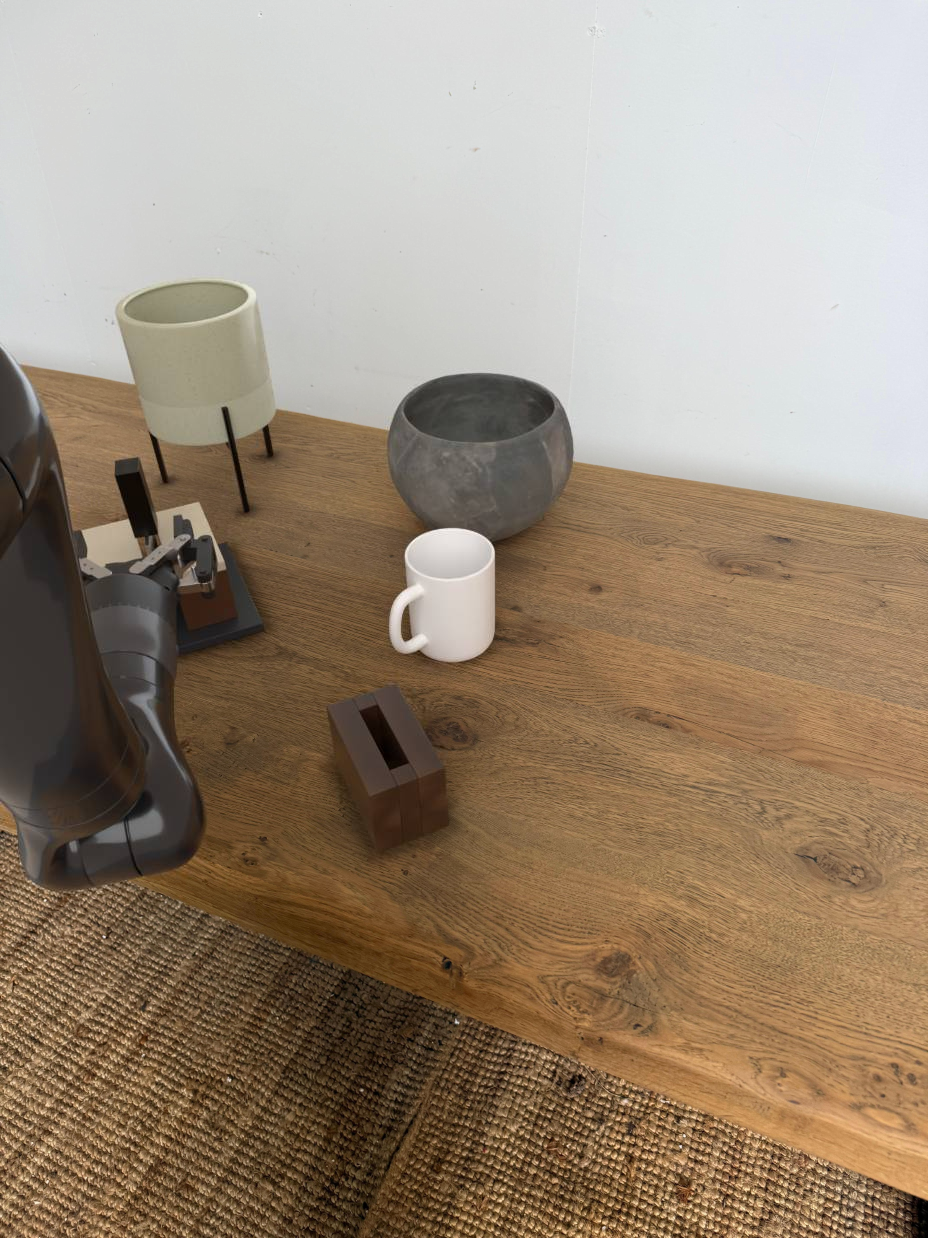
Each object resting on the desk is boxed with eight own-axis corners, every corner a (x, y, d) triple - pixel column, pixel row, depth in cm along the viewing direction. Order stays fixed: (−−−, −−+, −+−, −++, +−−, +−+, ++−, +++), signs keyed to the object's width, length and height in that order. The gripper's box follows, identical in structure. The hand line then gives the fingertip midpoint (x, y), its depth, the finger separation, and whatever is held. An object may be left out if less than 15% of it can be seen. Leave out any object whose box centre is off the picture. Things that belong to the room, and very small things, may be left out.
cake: (100, 679, 82) (73, 614, 77) (82, 587, 93) (57, 525, 88) (264, 630, 87) (250, 566, 82) (228, 548, 98) (213, 488, 93)
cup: (512, 634, 86) (513, 550, 79) (425, 697, 79) (419, 612, 73) (452, 599, 90) (449, 517, 84) (366, 657, 84) (355, 573, 77)
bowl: (358, 520, 102) (344, 402, 93) (485, 460, 112) (484, 349, 103) (473, 598, 90) (470, 472, 81) (603, 523, 101) (615, 403, 91)
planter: (181, 452, 116) (135, 277, 101) (297, 452, 115) (269, 276, 101) (144, 514, 104) (86, 326, 90) (274, 514, 104) (237, 325, 89)
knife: (158, 621, 87) (113, 483, 77) (157, 586, 92) (114, 452, 81) (181, 616, 88) (139, 479, 77) (178, 582, 92) (138, 448, 82)
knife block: (377, 854, 66) (368, 796, 62) (336, 764, 73) (325, 706, 69) (448, 826, 68) (445, 767, 64) (401, 741, 75) (396, 683, 71)
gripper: (211, 591, 63) (203, 481, 75) (4, 627, 61) (30, 507, 73) (230, 666, 68) (220, 552, 80) (39, 702, 65) (59, 578, 77)
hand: (130, 531), depth 76 cm, fingers open, 8 cm apart
